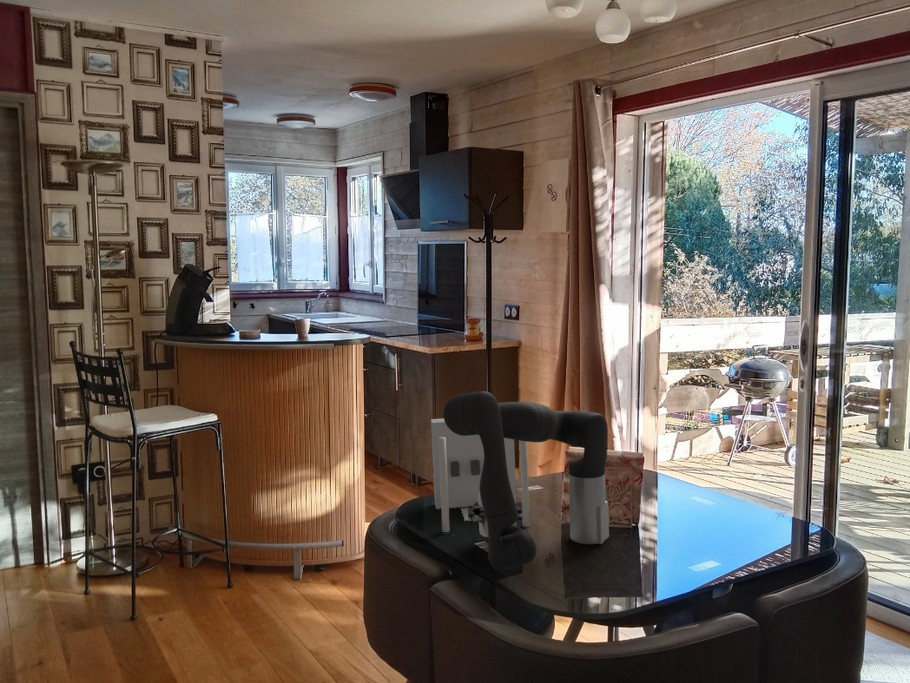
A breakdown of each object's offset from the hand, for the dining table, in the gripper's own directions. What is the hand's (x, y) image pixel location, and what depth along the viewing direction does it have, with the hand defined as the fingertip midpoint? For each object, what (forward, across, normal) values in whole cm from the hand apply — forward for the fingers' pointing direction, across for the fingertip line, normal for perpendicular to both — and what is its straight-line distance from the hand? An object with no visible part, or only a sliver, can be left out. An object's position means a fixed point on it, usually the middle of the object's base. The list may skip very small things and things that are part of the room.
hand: (489, 504), depth 205 cm
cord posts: (+8, 0, +9) cm, 12 cm away
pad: (+20, 0, +9) cm, 22 cm away
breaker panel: (+30, 0, +9) cm, 31 cm away
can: (-2, 0, +7) cm, 8 cm away
